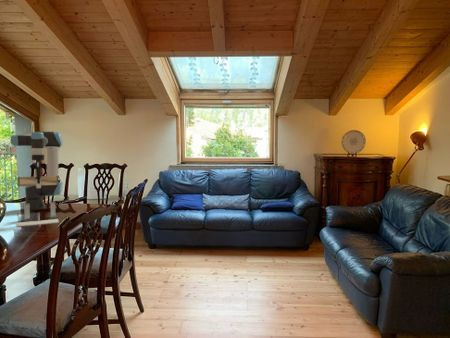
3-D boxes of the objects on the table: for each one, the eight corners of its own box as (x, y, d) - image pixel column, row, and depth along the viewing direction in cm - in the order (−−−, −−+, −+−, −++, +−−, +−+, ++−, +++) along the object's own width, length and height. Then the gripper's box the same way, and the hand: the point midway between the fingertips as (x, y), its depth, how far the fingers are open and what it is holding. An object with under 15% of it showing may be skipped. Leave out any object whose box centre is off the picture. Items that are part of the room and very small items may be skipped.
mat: (17, 223, 209) (17, 222, 209) (58, 219, 221) (58, 218, 221) (16, 227, 200) (16, 226, 200) (58, 222, 212) (58, 222, 212)
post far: (49, 217, 227) (48, 202, 226) (57, 216, 230) (56, 201, 229) (49, 219, 222) (48, 203, 221) (57, 218, 225) (56, 202, 224)
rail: (18, 185, 213) (18, 176, 212) (58, 184, 225) (58, 175, 224) (17, 186, 209) (17, 177, 209) (58, 184, 221) (58, 176, 221)
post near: (23, 219, 219) (22, 203, 219) (31, 218, 222) (31, 203, 221) (22, 221, 214) (22, 205, 213) (31, 220, 217) (30, 204, 216)
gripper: (32, 154, 221) (33, 186, 222) (30, 154, 206) (32, 189, 208) (44, 154, 225) (45, 186, 226) (43, 154, 210) (44, 188, 212)
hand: (38, 187), depth 217 cm, fingers closed on rail, 4 cm apart
